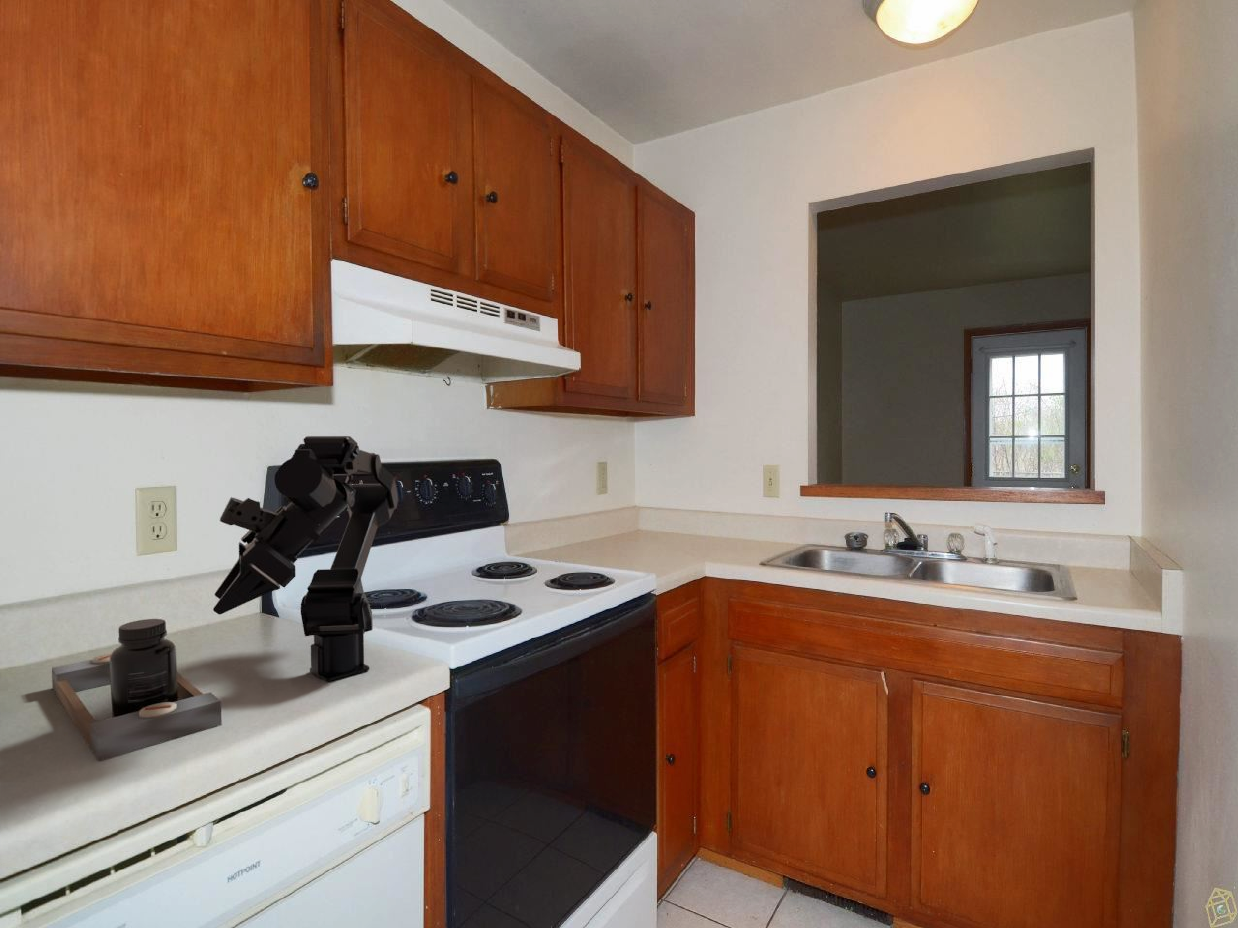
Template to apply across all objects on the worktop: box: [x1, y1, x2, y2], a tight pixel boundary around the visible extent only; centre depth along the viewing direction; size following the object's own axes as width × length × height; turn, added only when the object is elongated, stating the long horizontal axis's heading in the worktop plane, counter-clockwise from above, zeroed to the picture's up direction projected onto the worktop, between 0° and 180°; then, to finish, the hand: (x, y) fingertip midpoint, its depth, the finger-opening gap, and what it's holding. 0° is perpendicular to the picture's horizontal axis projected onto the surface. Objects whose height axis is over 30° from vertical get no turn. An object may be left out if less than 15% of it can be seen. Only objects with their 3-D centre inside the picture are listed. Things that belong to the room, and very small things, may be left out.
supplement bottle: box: [109, 618, 179, 718], centre depth 81 cm, size 7×7×12 cm
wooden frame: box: [51, 653, 222, 762], centre depth 85 cm, size 12×31×4 cm, turn 49°
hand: (216, 604), depth 84 cm, fingers open, 9 cm apart
